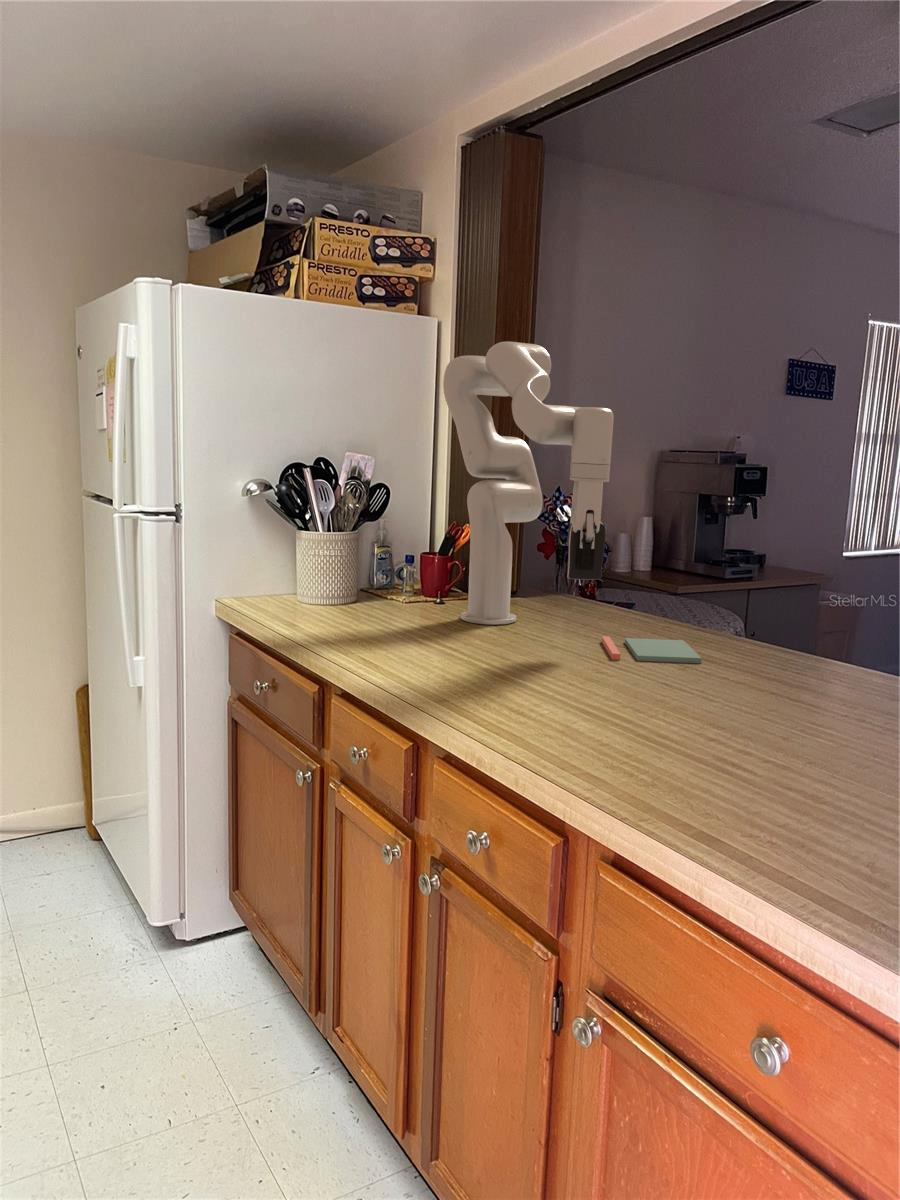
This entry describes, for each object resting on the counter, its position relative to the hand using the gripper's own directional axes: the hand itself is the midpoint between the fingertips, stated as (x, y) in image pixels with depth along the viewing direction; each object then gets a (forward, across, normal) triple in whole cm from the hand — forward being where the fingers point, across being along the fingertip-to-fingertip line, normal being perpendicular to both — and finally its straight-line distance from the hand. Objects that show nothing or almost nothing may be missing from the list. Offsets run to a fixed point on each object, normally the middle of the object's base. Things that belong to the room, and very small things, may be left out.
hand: (583, 566), depth 179 cm
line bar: (+16, 0, +6) cm, 18 cm away
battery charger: (+3, 0, 0) cm, 3 cm away
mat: (+16, 0, +16) cm, 23 cm away
